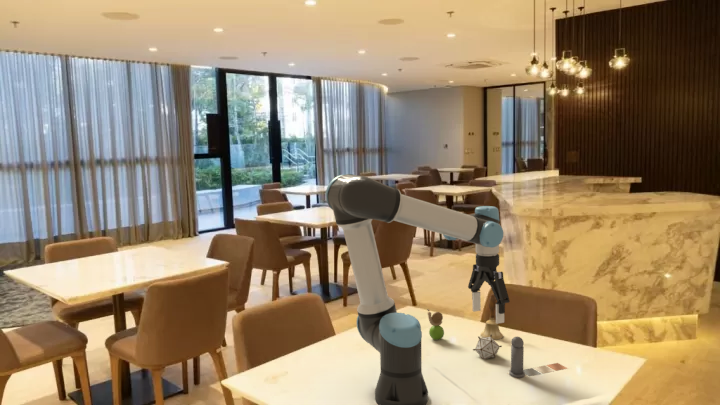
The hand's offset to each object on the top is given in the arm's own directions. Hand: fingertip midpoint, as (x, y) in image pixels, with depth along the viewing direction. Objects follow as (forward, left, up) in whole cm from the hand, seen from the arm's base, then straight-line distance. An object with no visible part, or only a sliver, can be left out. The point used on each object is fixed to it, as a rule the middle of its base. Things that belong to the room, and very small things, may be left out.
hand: (487, 316), depth 179 cm
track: (+7, -16, -15) cm, 23 cm away
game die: (0, 0, -15) cm, 15 cm away
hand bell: (+14, +18, -15) cm, 27 cm away
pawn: (0, -16, -14) cm, 21 cm away
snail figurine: (-7, +23, -15) cm, 28 cm away
